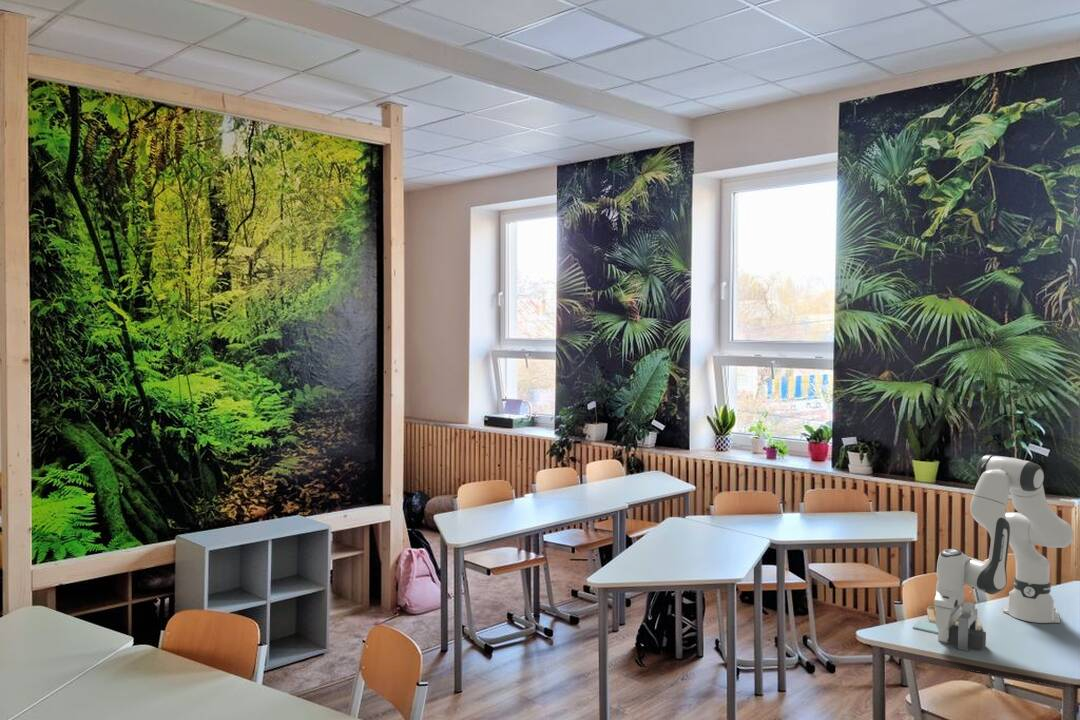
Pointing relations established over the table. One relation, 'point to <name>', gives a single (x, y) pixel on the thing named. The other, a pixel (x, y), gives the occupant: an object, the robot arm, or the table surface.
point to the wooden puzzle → (932, 617)
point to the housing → (966, 624)
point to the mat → (926, 627)
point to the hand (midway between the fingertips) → (948, 635)
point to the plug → (975, 637)
